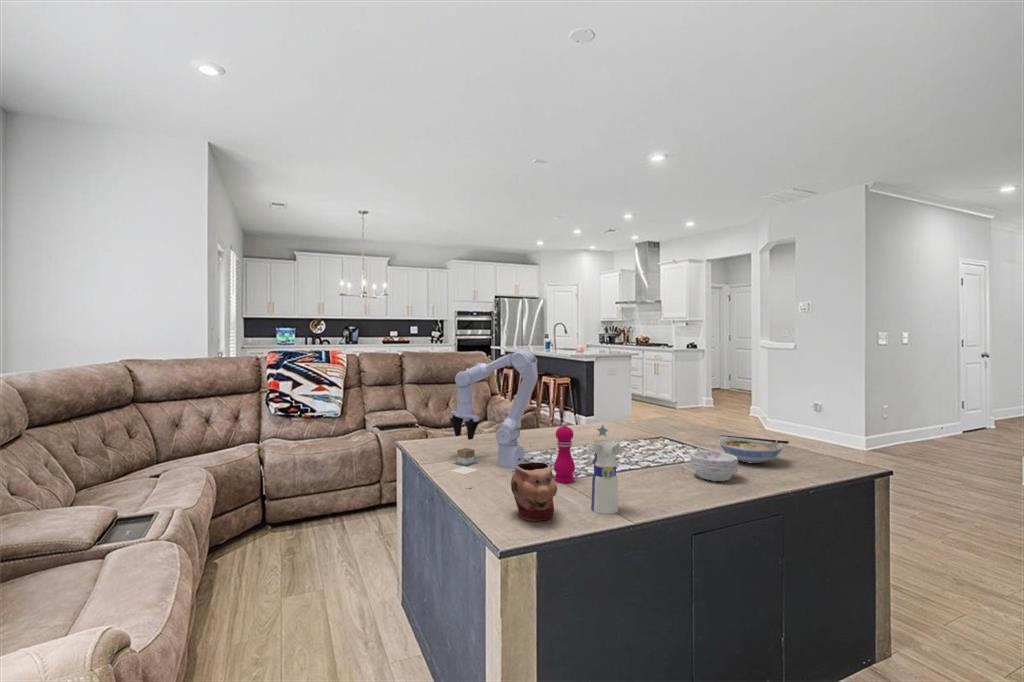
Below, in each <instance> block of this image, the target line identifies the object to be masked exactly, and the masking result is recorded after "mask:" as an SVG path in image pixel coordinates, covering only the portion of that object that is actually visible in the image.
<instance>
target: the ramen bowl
mask: <svg viewBox="0 0 1024 682" xmlns="http://www.w3.org/2000/svg"><path fill="white" fill-rule="evenodd" d="M719 436H720V437H721V438H718V442H719V445H720V447H721V448H722V449H723V451H724V453H727V454H731V455H734V456H736V457H737V458H738V461H739V460H740V461H739V462H741V461H744V462H751V463H759V462H761V463H764V462H769V461H770V460H772V459H774V458H776V457H777V456H778V455H779V454H780V453H781V451H782V450H783V449H784V446H783V444H787V445H789V443H790V442H789V441H790V440H789V441H787V440H779V439H770V438H769V439H767V438H757V437H748V436H733V435H723V434H722V435H721V434H720V435H719ZM759 464H760V463H759Z"/></svg>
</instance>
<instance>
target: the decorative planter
mask: <svg viewBox="0 0 1024 682" xmlns="http://www.w3.org/2000/svg"><path fill="white" fill-rule="evenodd" d="M510 488H511V489H510V490H511V493H512V495H513V498H514V501H515V503H516V507H517V510H518V515H519V516H520V517H521V518H522V519H523V520H527V521H531V522H533V521H534V522H535V521H536V522H537V521H545V520H550V519H551V518H552V517H553V516H554V512H555V506H554V497H555V496H556V495H557V493H558V486H557V483H556V481H555V476H554V475H553V471H552V467H551V465H549V464H548V463H545V462H542V461H540V462H539V461H532V462H531V461H530V462H524V463H521V464H518V465H517V466H516V468H515V470H514V473H513V475H512V476H511V480H510Z"/></svg>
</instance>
